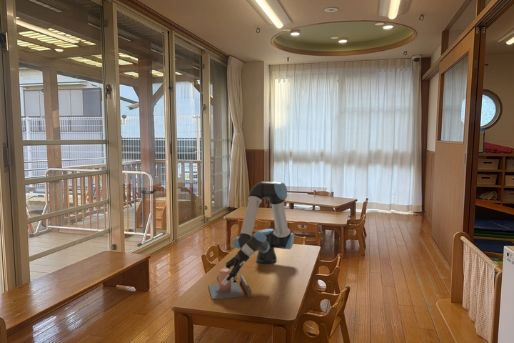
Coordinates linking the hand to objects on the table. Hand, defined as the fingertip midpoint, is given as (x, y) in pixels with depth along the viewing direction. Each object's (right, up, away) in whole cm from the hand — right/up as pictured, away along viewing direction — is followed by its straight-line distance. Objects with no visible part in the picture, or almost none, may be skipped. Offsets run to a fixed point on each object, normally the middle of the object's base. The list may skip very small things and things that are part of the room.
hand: (221, 279), depth 218 cm
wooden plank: (+14, -7, +4) cm, 16 cm away
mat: (+2, -7, +1) cm, 8 cm away
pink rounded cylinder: (+2, -6, +1) cm, 7 cm away
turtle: (+3, -6, +19) cm, 20 cm away
